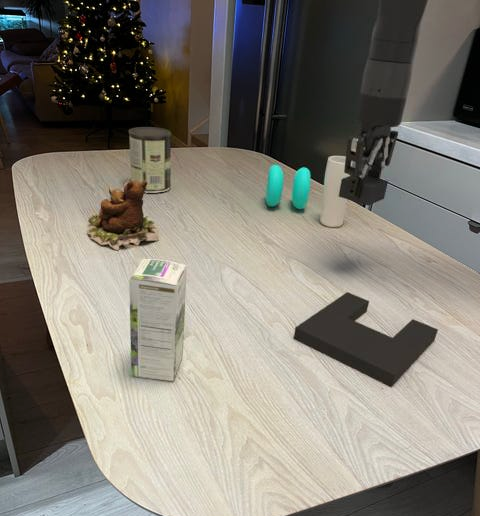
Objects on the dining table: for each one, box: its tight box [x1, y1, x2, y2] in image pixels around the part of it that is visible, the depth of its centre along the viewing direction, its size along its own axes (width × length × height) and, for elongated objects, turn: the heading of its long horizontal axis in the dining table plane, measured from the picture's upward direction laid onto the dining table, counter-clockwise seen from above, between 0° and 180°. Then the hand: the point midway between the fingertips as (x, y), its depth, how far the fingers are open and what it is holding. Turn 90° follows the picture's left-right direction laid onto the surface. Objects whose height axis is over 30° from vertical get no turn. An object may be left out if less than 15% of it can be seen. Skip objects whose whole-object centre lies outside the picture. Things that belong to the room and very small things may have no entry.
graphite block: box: [339, 174, 389, 206], centre depth 88 cm, size 6×6×3 cm
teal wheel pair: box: [265, 164, 312, 210], centre depth 122 cm, size 10×10×10 cm
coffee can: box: [128, 126, 172, 194], centre depth 125 cm, size 10×10×14 cm
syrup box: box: [128, 258, 188, 382], centre depth 62 cm, size 6×6×14 cm
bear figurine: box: [86, 180, 160, 251], centre depth 99 cm, size 14×15×12 cm
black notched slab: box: [293, 291, 439, 388], centre depth 76 cm, size 16×16×2 cm
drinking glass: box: [319, 155, 353, 228], centre depth 113 cm, size 7×7×15 cm
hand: (362, 194), depth 88 cm, fingers closed on graphite block, 6 cm apart
